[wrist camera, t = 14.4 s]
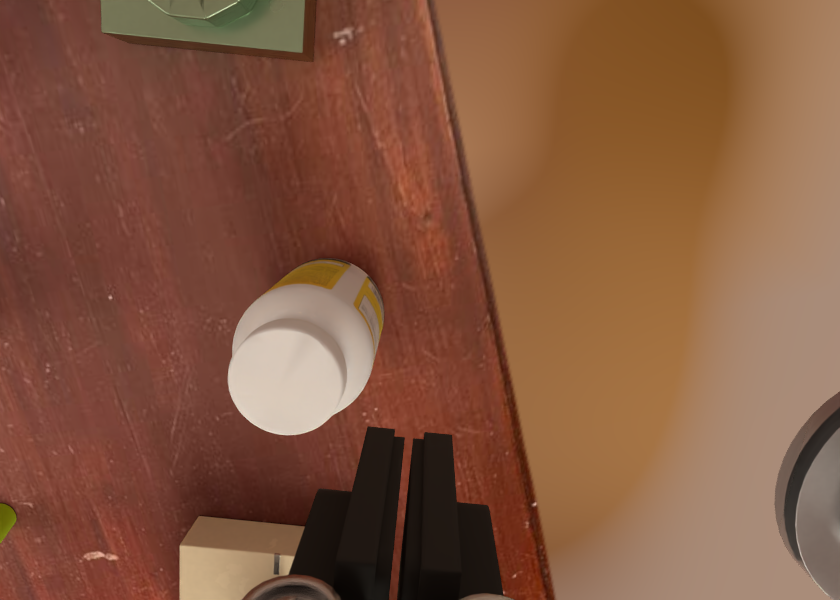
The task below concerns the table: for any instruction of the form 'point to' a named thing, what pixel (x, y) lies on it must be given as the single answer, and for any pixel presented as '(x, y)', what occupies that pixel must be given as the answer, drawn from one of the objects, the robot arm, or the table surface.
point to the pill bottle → (306, 347)
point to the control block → (216, 25)
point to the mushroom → (6, 520)
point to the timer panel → (234, 556)
